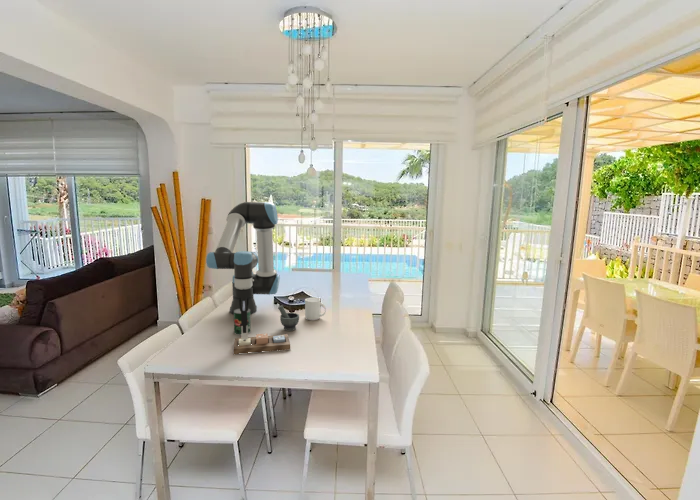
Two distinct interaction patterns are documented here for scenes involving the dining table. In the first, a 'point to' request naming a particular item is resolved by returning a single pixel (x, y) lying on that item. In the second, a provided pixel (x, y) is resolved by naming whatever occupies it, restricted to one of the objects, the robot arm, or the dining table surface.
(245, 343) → the button block
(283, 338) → the button block
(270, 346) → the button board
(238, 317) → the canned tomato
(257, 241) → the robot arm
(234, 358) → the dining table surface
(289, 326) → the mortar and pestle
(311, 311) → the mug
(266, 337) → the button block
